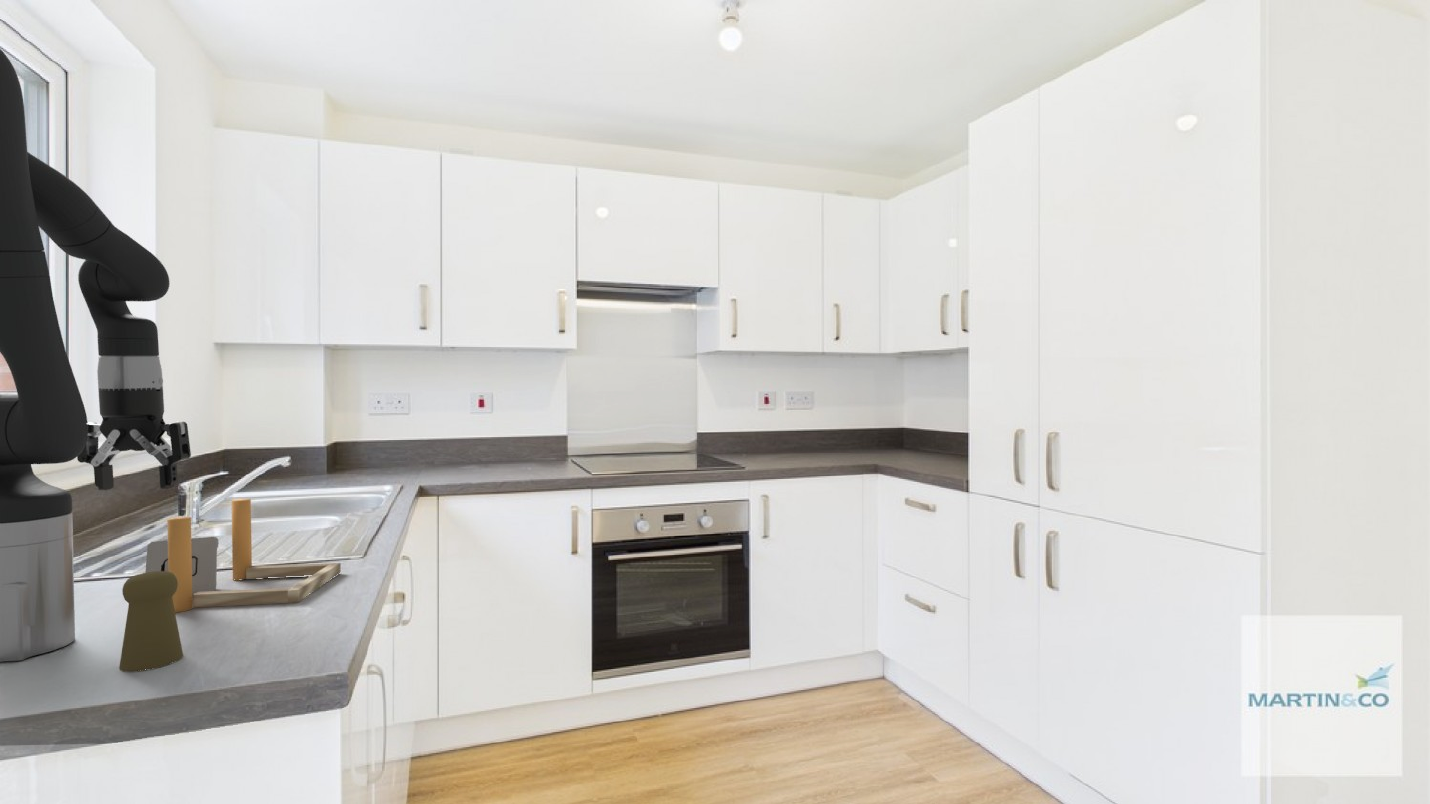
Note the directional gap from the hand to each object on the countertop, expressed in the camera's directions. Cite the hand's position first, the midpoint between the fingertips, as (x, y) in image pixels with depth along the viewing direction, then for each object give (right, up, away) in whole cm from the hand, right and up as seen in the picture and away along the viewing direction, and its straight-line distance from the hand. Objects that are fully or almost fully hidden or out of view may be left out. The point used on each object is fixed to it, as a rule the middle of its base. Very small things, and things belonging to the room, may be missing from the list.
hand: (137, 488), depth 104 cm
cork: (+21, -19, -22) cm, 35 cm away
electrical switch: (+2, -18, +6) cm, 19 cm away
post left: (+9, -18, -2) cm, 20 cm away
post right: (+6, -18, +15) cm, 24 cm away
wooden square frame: (+15, -18, +8) cm, 25 cm away
